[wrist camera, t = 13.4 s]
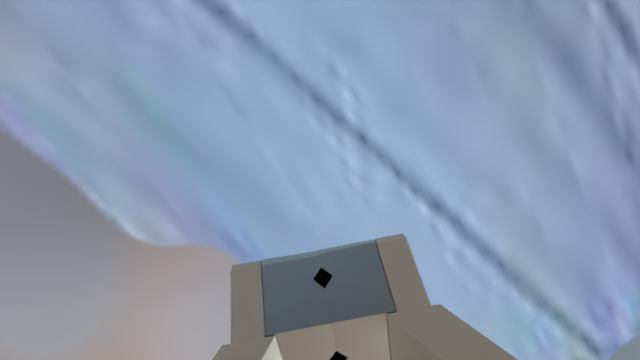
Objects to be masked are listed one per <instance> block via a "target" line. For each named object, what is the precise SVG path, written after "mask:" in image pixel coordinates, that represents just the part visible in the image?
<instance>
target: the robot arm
mask: <svg viewBox="0 0 640 360" xmlns="http://www.w3.org/2000/svg"><path fill="white" fill-rule="evenodd" d="M213 360H517V359H516V358H514V357H513V356H512V355H510V354H509V353H507V352H506V351H505V350H503V349H502V348H500V347H499V346H498V345H496V344H495V343H493V342H492V341H491V340H489V339H488V338H486V337H485V336H484V335H482V334H481V333H479V332H478V331H477V330H475V329H474V328H472V327H471V326H470V325H468V324H467V323H465V322H464V321H463V320H461V319H460V318H458V317H457V316H456V315H454V314H453V313H451V312H450V311H449V310H447V309H446V308H444V307H443V306H442V305H440V304H439V305H433V306H431V304H430V301H429V299H428V296H427V293H426V291H425V288H424V285H423V282H422V280H421V277H420V274H419V272H418V269H417V266H416V263H415V261H414V258H413V255H412V253H411V250H410V247H409V244H408V242H407V239H406V237H405V236H404V235H403V234H398V235H393V236H388V237H383V238H378V239H374V240H368V241H363V242H358V243H353V244H348V245H342V246H337V247H332V248H327V249H322V250H318V251H313V252H307V253H301V254H295V255H289V256H283V257H276V258H270V259H264V260H262V261H256V262H249V263H243V264H237V265H233V266H232V270H231V344H228V345H223V346H221V348H220V350H219V351H218V353H217V354H216V355H215V357H214V358H213Z"/></svg>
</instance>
